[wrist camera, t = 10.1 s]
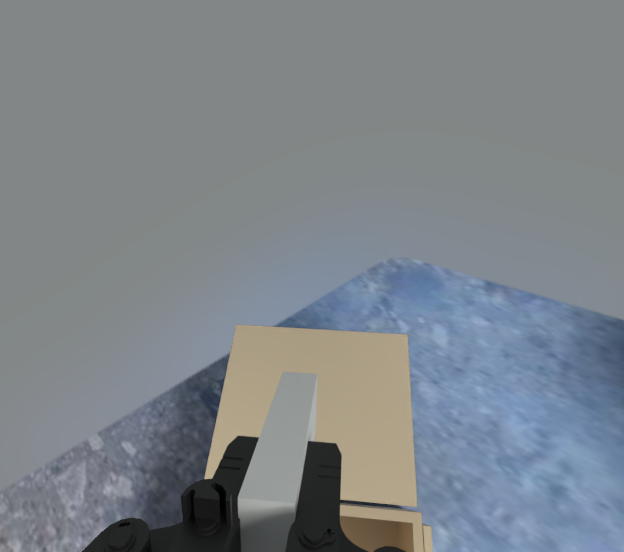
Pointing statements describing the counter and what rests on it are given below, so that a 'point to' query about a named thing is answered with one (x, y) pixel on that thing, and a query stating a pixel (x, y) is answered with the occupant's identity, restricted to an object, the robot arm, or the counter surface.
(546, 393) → the counter surface
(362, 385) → the flap
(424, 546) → the wooden box
